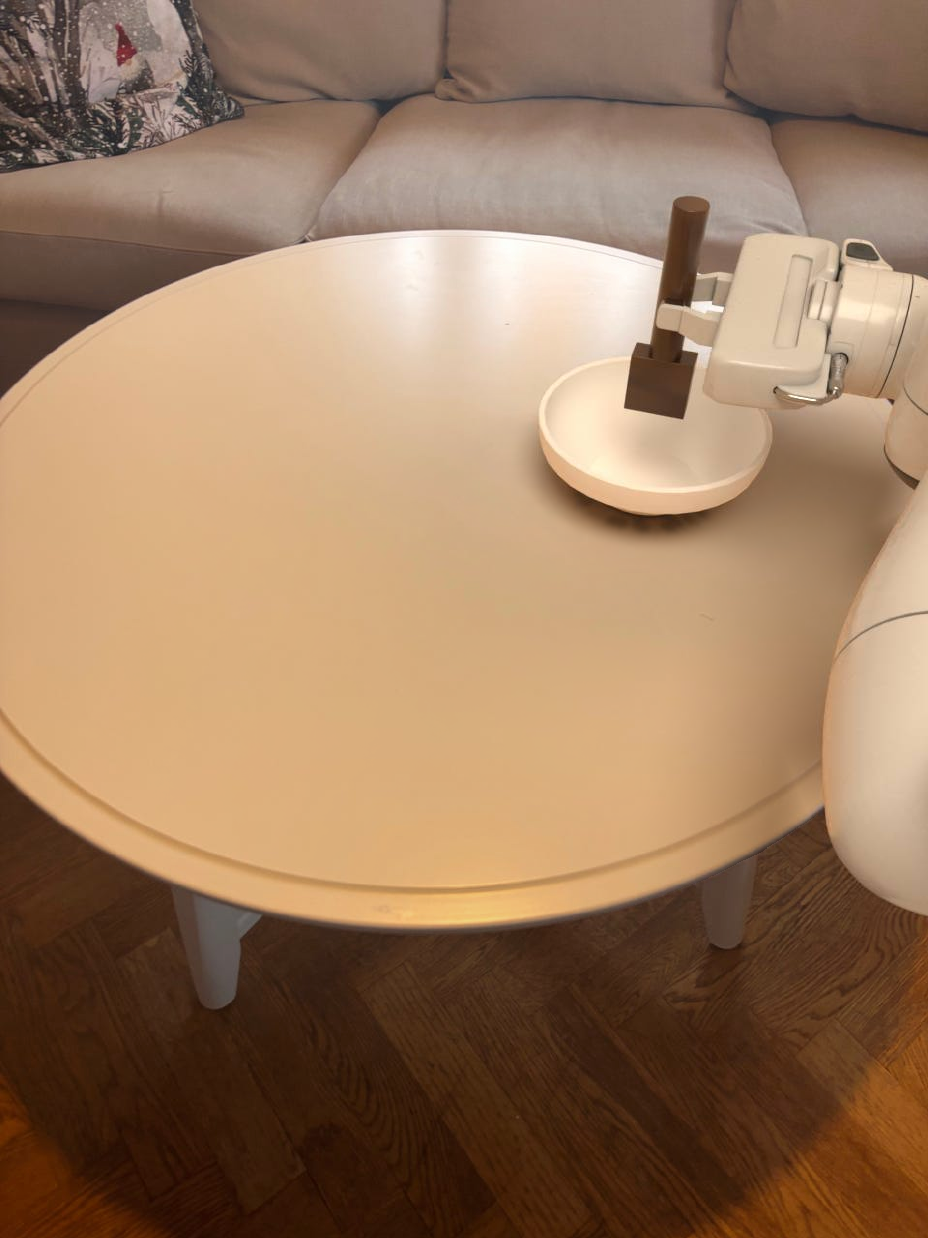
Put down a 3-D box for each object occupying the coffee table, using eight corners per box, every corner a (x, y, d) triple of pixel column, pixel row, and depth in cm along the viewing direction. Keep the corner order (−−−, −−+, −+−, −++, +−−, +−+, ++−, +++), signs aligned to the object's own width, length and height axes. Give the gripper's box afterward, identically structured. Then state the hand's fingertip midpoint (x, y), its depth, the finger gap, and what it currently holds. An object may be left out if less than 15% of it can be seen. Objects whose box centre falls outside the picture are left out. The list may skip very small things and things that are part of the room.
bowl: (585, 399, 96) (593, 334, 91) (780, 458, 90) (800, 392, 84) (495, 512, 84) (498, 444, 79) (712, 589, 78) (731, 521, 73)
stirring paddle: (688, 404, 81) (729, 200, 69) (682, 421, 79) (724, 215, 67) (629, 393, 82) (660, 190, 70) (622, 409, 80) (653, 205, 68)
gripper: (828, 446, 67) (630, 408, 70) (846, 304, 80) (679, 278, 83) (855, 366, 62) (642, 329, 65) (869, 230, 75) (692, 204, 78)
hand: (663, 299), depth 74 cm, fingers closed on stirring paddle, 2 cm apart
